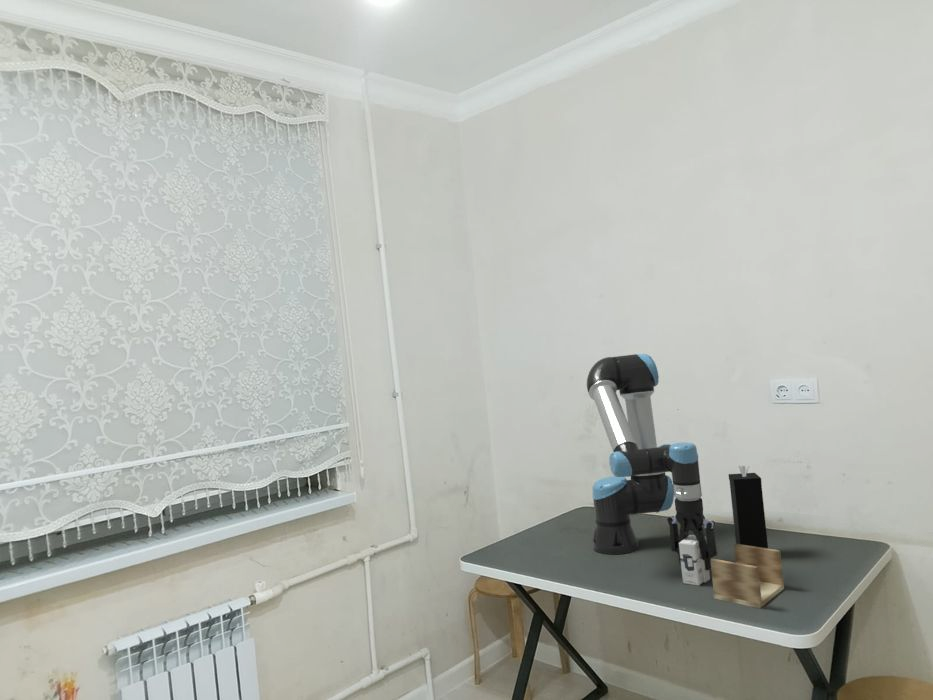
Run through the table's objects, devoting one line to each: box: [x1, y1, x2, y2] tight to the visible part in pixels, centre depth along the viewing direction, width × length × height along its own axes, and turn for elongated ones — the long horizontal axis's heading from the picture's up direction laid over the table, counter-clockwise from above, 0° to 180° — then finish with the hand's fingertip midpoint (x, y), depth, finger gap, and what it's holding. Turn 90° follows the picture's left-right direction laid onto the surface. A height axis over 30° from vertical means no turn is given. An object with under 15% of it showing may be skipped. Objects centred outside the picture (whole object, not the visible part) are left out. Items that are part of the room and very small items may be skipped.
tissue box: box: [728, 465, 769, 549], centre depth 198 cm, size 8×8×28 cm
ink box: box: [679, 534, 711, 586], centre depth 184 cm, size 8×5×12 cm, turn 139°
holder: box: [710, 543, 785, 609], centre depth 171 cm, size 12×15×10 cm
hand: (696, 578), depth 184 cm, fingers closed on ink box, 5 cm apart
